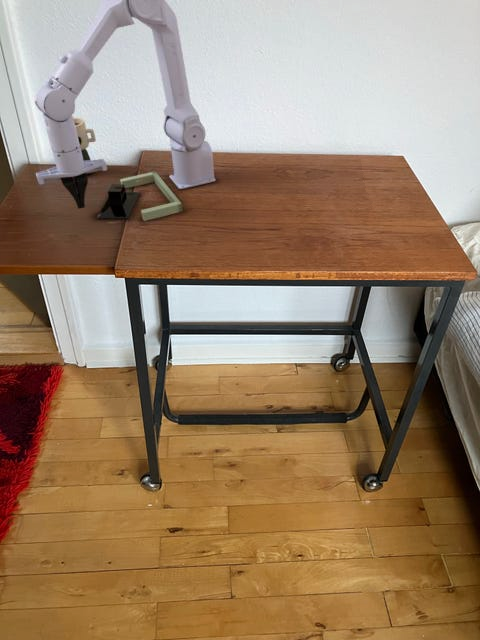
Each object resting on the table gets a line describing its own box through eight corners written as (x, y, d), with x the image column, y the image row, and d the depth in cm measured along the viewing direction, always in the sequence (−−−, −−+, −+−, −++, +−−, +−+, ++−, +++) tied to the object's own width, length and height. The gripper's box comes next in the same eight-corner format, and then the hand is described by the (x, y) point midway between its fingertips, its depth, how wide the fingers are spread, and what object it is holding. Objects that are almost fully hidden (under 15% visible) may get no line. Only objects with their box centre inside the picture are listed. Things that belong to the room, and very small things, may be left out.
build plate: (128, 220, 119) (124, 201, 116) (96, 220, 119) (91, 201, 116) (140, 193, 128) (137, 175, 125) (110, 193, 129) (106, 175, 125)
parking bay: (156, 178, 134) (155, 171, 132) (182, 211, 120) (181, 203, 119) (121, 186, 131) (119, 179, 130) (144, 221, 118) (142, 213, 116)
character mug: (57, 179, 135) (43, 128, 127) (64, 167, 141) (51, 117, 133) (99, 178, 135) (88, 126, 127) (105, 166, 141) (94, 116, 132)
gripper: (95, 134, 116) (108, 191, 125) (27, 147, 111) (45, 206, 120) (103, 145, 111) (116, 204, 120) (32, 159, 106) (50, 220, 115)
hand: (80, 206), depth 120 cm, fingers closed
